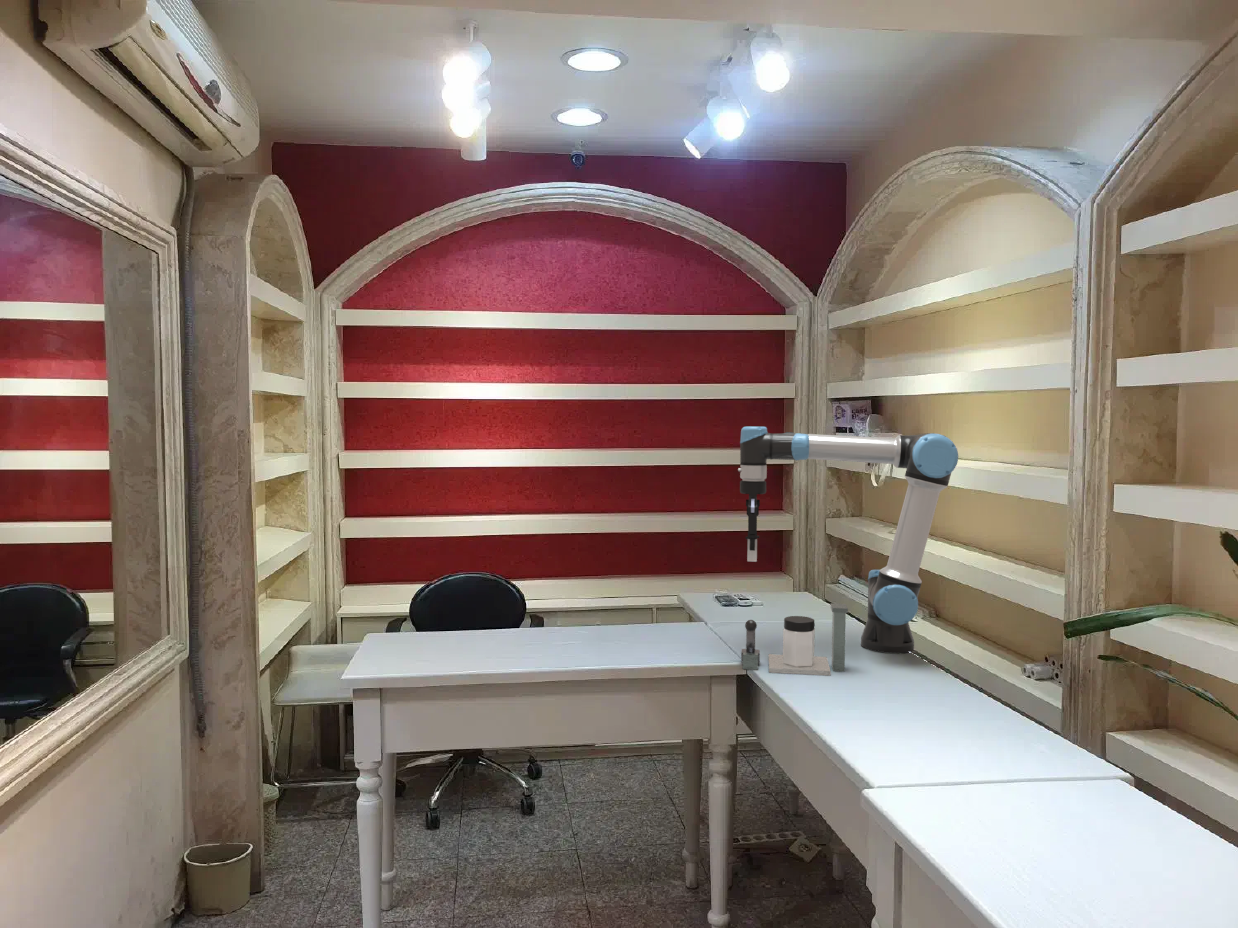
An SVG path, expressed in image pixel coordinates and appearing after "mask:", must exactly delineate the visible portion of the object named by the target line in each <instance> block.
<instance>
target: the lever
mask: <svg viewBox="0 0 1238 928" xmlns="http://www.w3.org/2000/svg"><path fill="white" fill-rule="evenodd" d="M757 626H758V624H757V623H756V621H755V620H753V619H748V620H746V621H745V625H744V628H745V631H746V633H745V634H746V636H745V637H746V639H745V640H746V644H745V648H741V652H740V655H741V657H740V660H741V661H740V662H743V653H758V663H760V661H761V660H760V659H761V652H760V651H761V649H756V629H757Z"/></svg>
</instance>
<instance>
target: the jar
mask: <svg viewBox="0 0 1238 928" xmlns="http://www.w3.org/2000/svg"><path fill="white" fill-rule="evenodd" d="M815 627H816V625H815V619H814V618H813V617H809V616H803V615H802V616H801V615H790V616H786V617H784V619H783V629H782V630H783V631H782V641H783V642H782V655H783V663H784V664H788V665H791V666H795V667H802V666H812V664H813V663H814V656H815V646H816V645H815V637H816V634H815V633H816V628H815Z"/></svg>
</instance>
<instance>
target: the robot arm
mask: <svg viewBox="0 0 1238 928" xmlns="http://www.w3.org/2000/svg"><path fill="white" fill-rule="evenodd" d="M739 445H740V446H739V447H740V449H739V451H740V453H739V456H740V457H739V458H740V459H739V461H740V462H739V463H740V467H738V469H737V471H738V472H739V474H740V475H739V477H740V479H742V480H740V481H739V493H740V494H744V495H748V499H745V507H746V516H748V517H747V518H748V521H747V523H748V525H747V536H745V539H744V540H747V549H746V550H747V555H746V557H747V558H746V559H747V560H746V561H747V562H755V563H756V562H758V560H757V559H758V539H760V535H758V528H757V527H758V516H759V515H760V514H759V511H760V508H759V507H760V505H761V502H760V499H758V495H764V494H766V493H767V481H766V479H767V475H768V474H767V473H768V471H767V470H768V468H767V467H768V466H767V460H783V461H785V460H789V461H803V460H805V461H806V460H818V461H819V460H820V461H821V460H822V461H838V462H839V461H840V462H852V463H853V462H854V463H855V462H856V463H870V464H886V465H893V466H894V467H895V468H896V469H897V468H898V469H905V474H904V478H905V479H906V481H907V483H908V485H907V488H906V492H905V497H904V500H903V503H902V508H901V510H900V515H899V519H898V522H897V526H896V531H895V533H894V538H893V541H892V545H891V549H890V552H889V555H888V556H889V557H888V560H887V564H886V566H883V567H882V568H881V569H871V570H870V571H868V578H867V582H868V585H867V588H868V589H867V591H868V592H867V618H866V619H867V620H866V624H865V626H864V628H863V631H862V634H861V637H860V646H861V647H863V648H864V649H866V650H869V651H874V652H878V653H879V652H880V653H885V654H889V653H890V654H900V653H901V654H902V653H909V652H912V651H914V650H915V640H914V636H913V633H912V630H911V627H910V624H909V622H911V621H912V620H913V619H914V618H915V616H916V615H917V613H918V610H919V599H918V597H919V594H920V590H921V586H922V582H923V581H922V579H921V577H920V576H919V571H920V568H921V564H922V561H923V557H924V552H925V551H926V546H927V542H928V540H929V539H928V538H929V534H930V531H931V527H932V523H933V520H934V517H935V513H936V509H937V504H938V501H939V497H940V494H941V492H942V491H944V490H945V489H947V488H948V486H949V483H950V479H951V475H952V473H953V471H954V470H955V468H957V465H958V462H959V453H958V448H957V446H956V445H955V443H954V442H953V441H952V440H951V439H950V437H947V436H945V435H943V434H940V433H934V432H933V433H921V434H912V435H911V434H909V435H907V434H906V435H905V434H904V435H903V434H902V435H901V434H898V435H897V436H896V437H892V438H891V437H877V436H876V437H875V436H861V435H860V436H858V435H855V436H854V435H838V434H837V435H835V434H817V433H816V434H815V433H799V432H798V433H797V432H789V431H787V432H785V433H773V432H772V433H770V432H768V428H767V426H751V425H750V426H743V427H742V428H741V431H740V441H739Z"/></svg>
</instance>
